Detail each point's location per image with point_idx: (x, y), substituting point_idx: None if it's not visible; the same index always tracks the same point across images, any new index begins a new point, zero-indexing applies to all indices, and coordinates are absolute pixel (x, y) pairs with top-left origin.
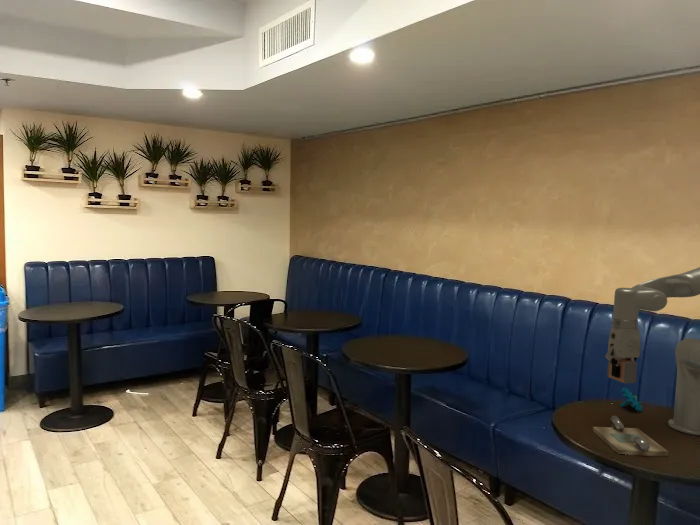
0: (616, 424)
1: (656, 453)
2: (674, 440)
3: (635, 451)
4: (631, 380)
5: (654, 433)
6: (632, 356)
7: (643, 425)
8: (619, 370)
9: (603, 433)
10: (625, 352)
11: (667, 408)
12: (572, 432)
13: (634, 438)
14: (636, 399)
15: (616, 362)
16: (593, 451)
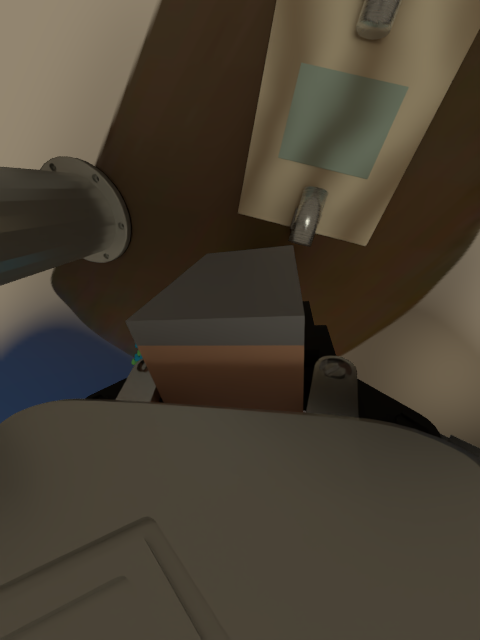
0: (324, 204)
1: None
2: (169, 133)
3: None
4: (241, 254)
5: (195, 197)
6: (137, 412)
7: (191, 253)
8: (312, 327)
9: (385, 187)
10: (304, 557)
11: (88, 323)
12: (434, 244)
13: (394, 16)
14: (139, 352)
15: (354, 395)
16: None
